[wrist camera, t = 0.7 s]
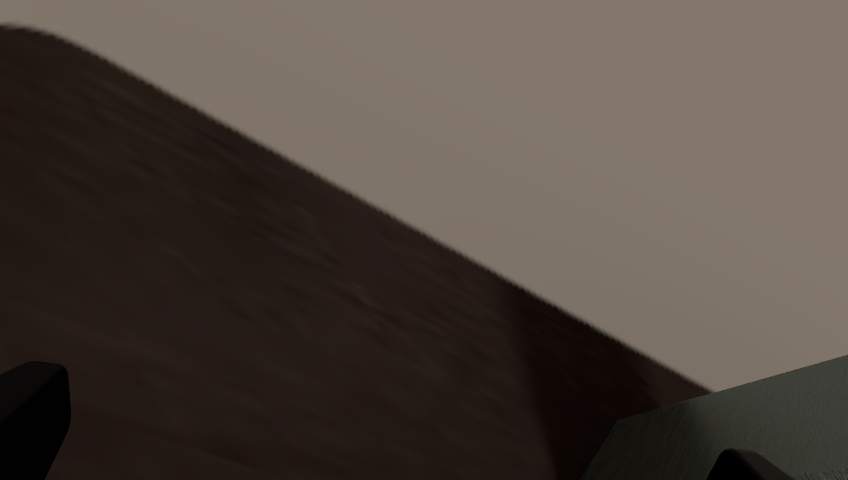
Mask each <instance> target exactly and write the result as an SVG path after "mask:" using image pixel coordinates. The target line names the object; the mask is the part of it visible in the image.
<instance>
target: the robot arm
mask: <svg viewBox="0 0 848 480" xmlns="http://www.w3.org/2000/svg"><path fill="white" fill-rule="evenodd" d="M70 421H71V406H70V392H69V379H68V372H67V370H66V368H65V367H64V366H62V365H60V364H54V363H46V362H38V361H30V362H26V363H24V364H21V365H19V366H17V367H15V368H13V369H11V370H9V371H7V372H5V373H3V374H1V375H0V480H45V478H46V476H47V474H48V471H49V469H50V467H51V465H52V463H53V461H54V459H55V457H56V455H57V453H58V451H59V449H60V447H61V445H62V442H63V440H64V438H65V436H66V434H67V432H68V429H69V425H70ZM706 480H795V479H793V478H792V477H790V476H789V475H788V474H786V473H785V472H784V471H782V470H781V469H779V468H778V467H777V466H775V465H774V464H773V463H771V462H770V461H768V460H767V459H766V458H764V457H763V456H762V455H760V454H759V453H757V452H755V451H751V450H744V449H736V448H727V449H725V450H724V451H722V452H721V453H720V455H719V457H718V458H717V460H716V462H715V464H714V466H713V468H712V469H711V471H710V473H709V475H708V477H707V479H706Z"/></svg>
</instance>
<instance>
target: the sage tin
mask: <svg viewBox="0 0 848 480" xmlns="http://www.w3.org/2000/svg"><path fill="white" fill-rule="evenodd" d="M727 448H736V449H744V450H751V451H755V452H757V453H759V454H760V455H762V456H763V457H764V458H766V459H767V460H768V461H770V462H771V463H773V464H774V465H775V466H777V467H778V468H779V469H781V470H782V471H784V472H785V473H786V474H788V475H789V476H790V477H792V478H793V479H795V480H848V355H846V356H842V357H838V358H835V359H832V360H828V361H824V362H821V363H818V364H814V365H810V366H807V367H803V368H800V369H797V370H793V371H789V372H786V373H782V374H779V375H775V376H772V377H768V378H765V379H761V380H757V381H754V382H751V383H747V384H743V385H740V386H736V387H733V388H729V389H726V390H722V391H719V392H715V393H712V394H708V395H705V396H701V397H698V398H694V399H691V400H687V401H683V402H680V403H676V404H673V405H669V406H666V407H662V408H659V409H655V410H652V411H648V412H645V413H641V414H638V415H634V416H631V417H627V418H624V419H620V420H617V421H616V423H615V425H614V426H613V428H612V430H611V431H610V433H609V434H608V436H607V438H606V439H605V441H604V443H603V444H602V446H601V447H600V449H599V451H598V452H597V454H596V456H595V457H594V459H593V460H592V462H591V464H590V465H589V467H588V469H587V470H586V472H585V473H584V475H583V477H582V478H581V480H706V479H707V477H708V475H709V473H710V471H711V469H712V468H713V466H714V464H715V462H716V460H717V458H718V457H719V455H720V453H721V452H722V451H724V450H725V449H727Z"/></svg>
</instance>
